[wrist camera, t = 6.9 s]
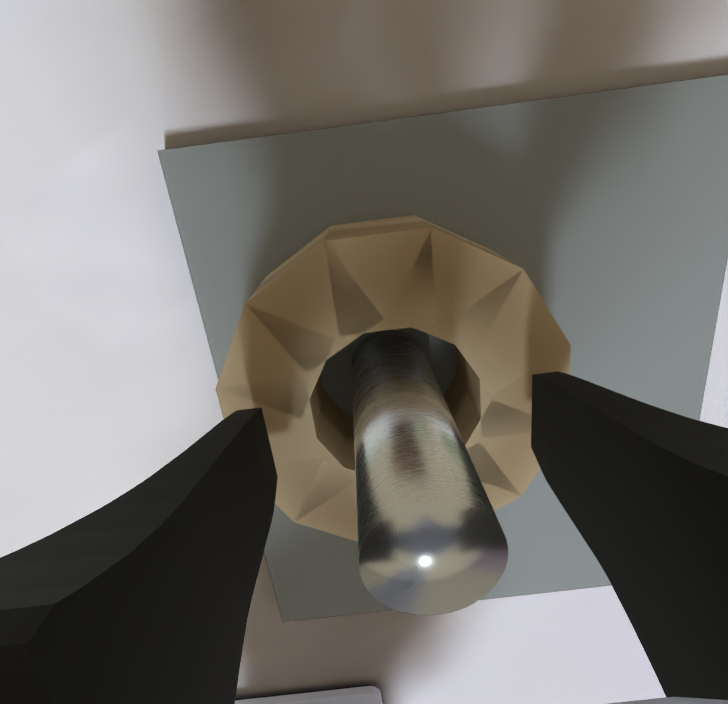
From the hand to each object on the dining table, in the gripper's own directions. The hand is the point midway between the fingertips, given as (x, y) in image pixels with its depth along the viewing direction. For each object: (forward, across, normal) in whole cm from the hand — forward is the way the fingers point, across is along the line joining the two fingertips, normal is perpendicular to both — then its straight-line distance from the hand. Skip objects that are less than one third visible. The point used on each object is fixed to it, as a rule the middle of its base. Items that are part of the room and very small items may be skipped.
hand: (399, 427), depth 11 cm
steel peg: (+4, 0, 0) cm, 4 cm away
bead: (+4, 0, 0) cm, 4 cm away
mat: (+4, -2, +2) cm, 5 cm away
